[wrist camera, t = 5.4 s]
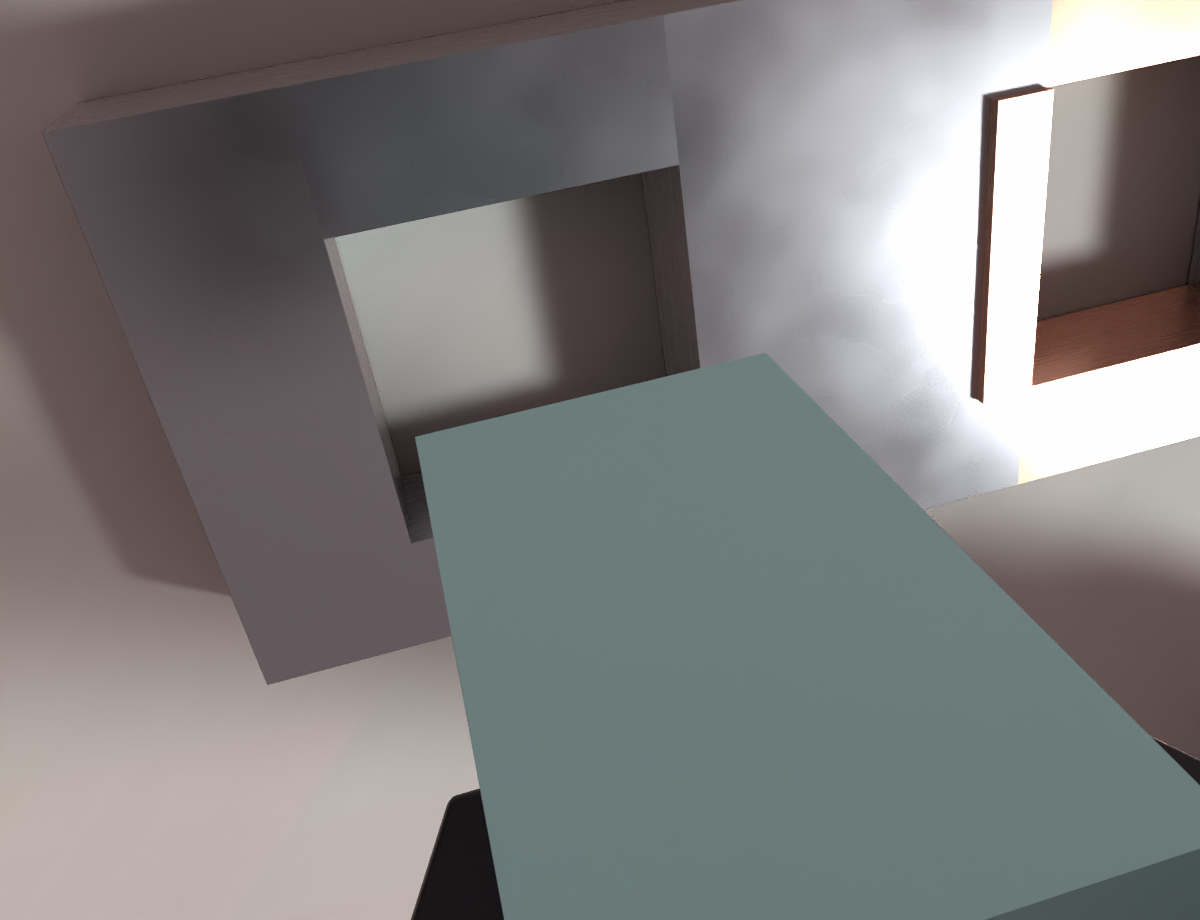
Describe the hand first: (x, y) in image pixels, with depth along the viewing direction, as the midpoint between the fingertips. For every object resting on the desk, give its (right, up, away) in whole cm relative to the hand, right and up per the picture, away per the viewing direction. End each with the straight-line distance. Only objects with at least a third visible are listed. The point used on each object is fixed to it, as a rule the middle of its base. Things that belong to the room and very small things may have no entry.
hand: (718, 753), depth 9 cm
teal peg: (-1, +2, +3) cm, 4 cm away
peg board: (+3, +7, +11) cm, 13 cm away
